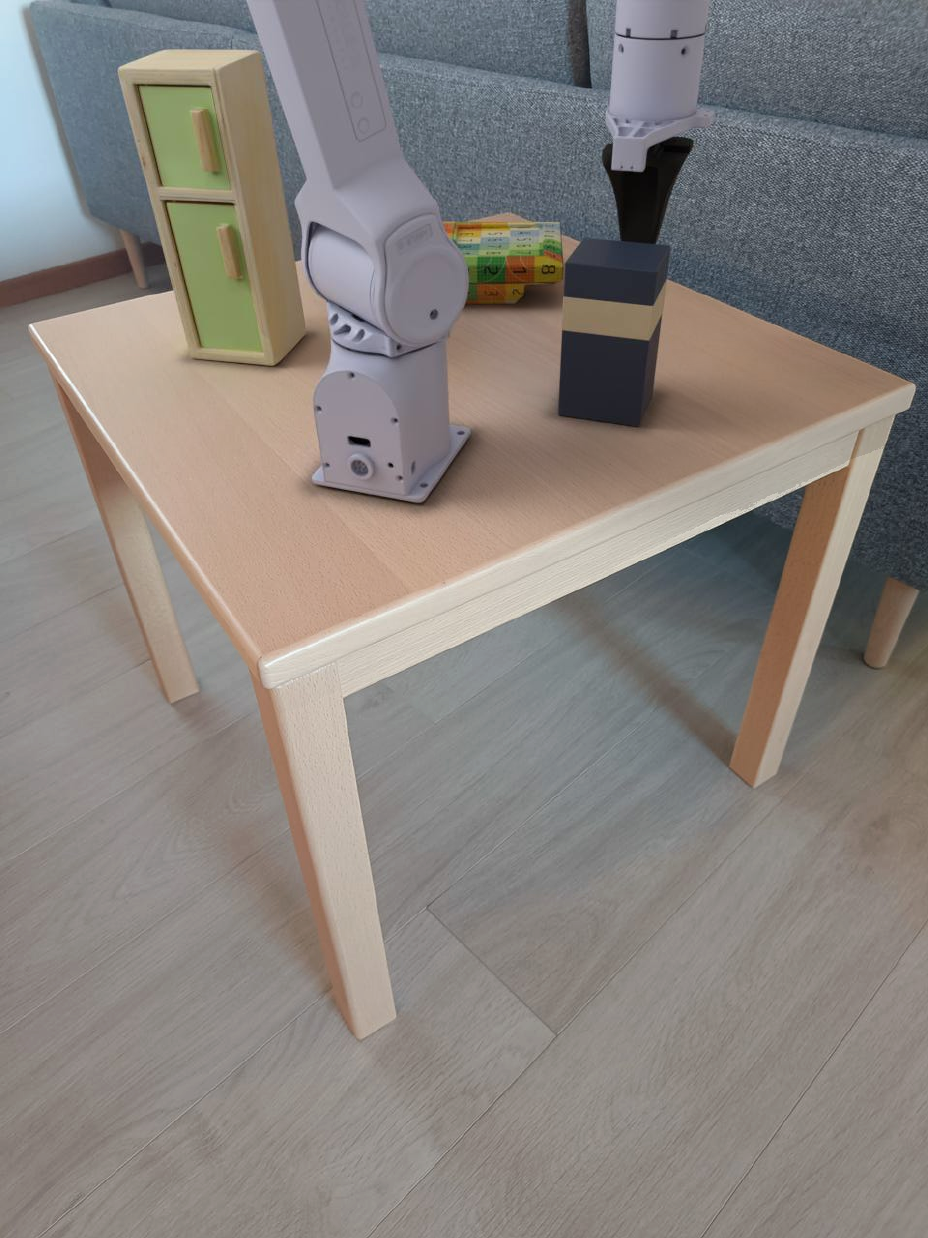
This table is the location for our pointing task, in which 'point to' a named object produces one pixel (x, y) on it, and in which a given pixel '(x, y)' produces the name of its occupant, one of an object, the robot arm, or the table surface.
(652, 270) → the carton
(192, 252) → the toy refrigerator
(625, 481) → the table surface
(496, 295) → the puzzle game
